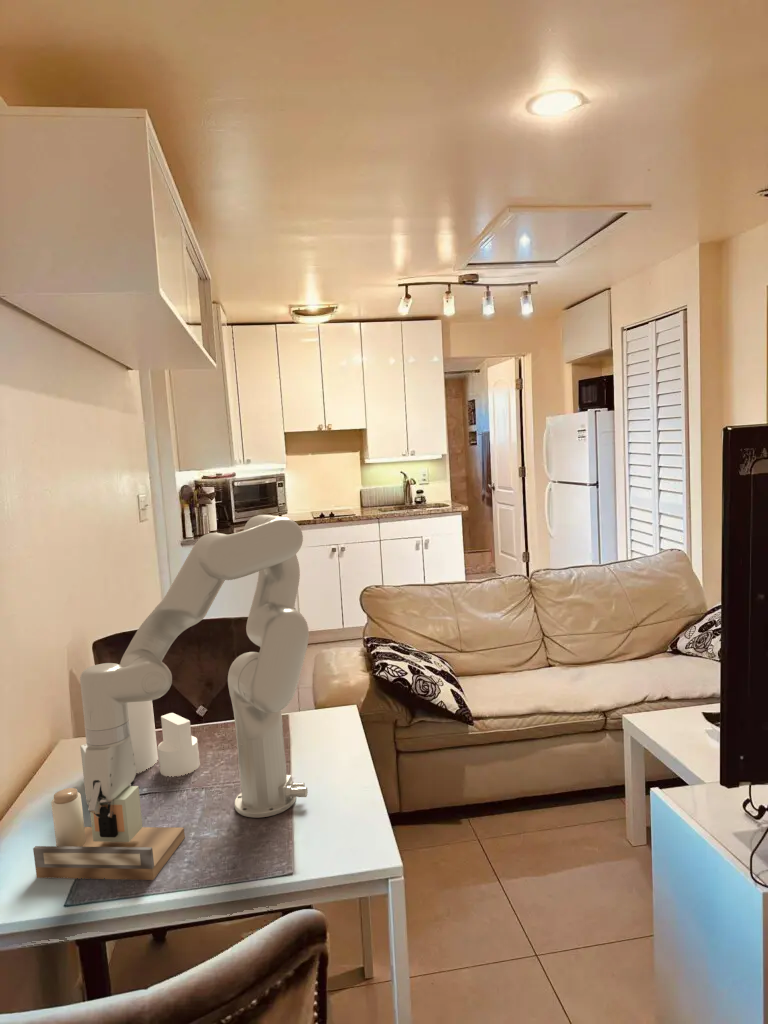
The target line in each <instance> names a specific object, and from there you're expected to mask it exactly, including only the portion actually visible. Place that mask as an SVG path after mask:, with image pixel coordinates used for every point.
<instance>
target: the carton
mask: <svg viewBox="0 0 768 1024" xmlns="http://www.w3.org/2000/svg"><path fill="white" fill-rule="evenodd" d="M140 797H141V796H140V788H139V785H133V786H128V787H126V788H125V789H124V790H123V791H122V792H121V793H120V794H119V795H118V796H117V797H116V798H115V799H114V813H113V815H116V820H117V830H118V835H117V836H116V837H101V836H100V832H99V822H98V818H97V817H96V815H95V814H94V813H92V812H89V813H90V822H91V827H92V834H93V841H99V842H130V841H131V839H132V838H133V837H134V836H135V835H136V834H137V833H138V832H139V830H140V829H141V828H142V827H143V817H142V809H141V808H142V807H141V806H142V805H141V799H140ZM102 798H106V796H104V795H102ZM89 804H90V802H89ZM103 807H106V808H107V809H108V803H103Z"/></svg>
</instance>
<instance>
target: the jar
mask: <svg viewBox="0 0 768 1024" xmlns="http://www.w3.org/2000/svg"><path fill="white" fill-rule="evenodd" d="M50 804H51V811H52V812H51V813H52V821H53V827H54V838H55V845H56V846H70V847H82V846H83V845H84V844H85V842H86V837H85V828H84V827H85V821H84V820H85V819H84V811H83V804H82V796H81V793H80V792H78V789H77V788H76V787H67V788H63V789H61V790H59V791H56V792H55V793H54V795H53V799H52V800H51V802H50Z"/></svg>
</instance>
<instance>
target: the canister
mask: <svg viewBox="0 0 768 1024" xmlns="http://www.w3.org/2000/svg"><path fill="white" fill-rule="evenodd" d="M153 706H154V705H153V700H151V701H142V702H129V703H128V714H129V724H130V735H131V736H130V737H131V742H132V747H133V752H134V759H135V769H136V773H138V774H140V773H143V772H145V771H147V770H149V769H151V768H152V767H153V766H154V764H155V763H156V764H157V763H158V761H159V755H158V746H157V743H158V742H157V735H156V734H157V733H156V727H155V716H154V707H153ZM157 760H158V761H157ZM156 764H155V765H156ZM150 767H151V768H150ZM148 768H149V769H148ZM146 769H147V770H146ZM142 771H143V772H142ZM139 772H140V773H139Z"/></svg>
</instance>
